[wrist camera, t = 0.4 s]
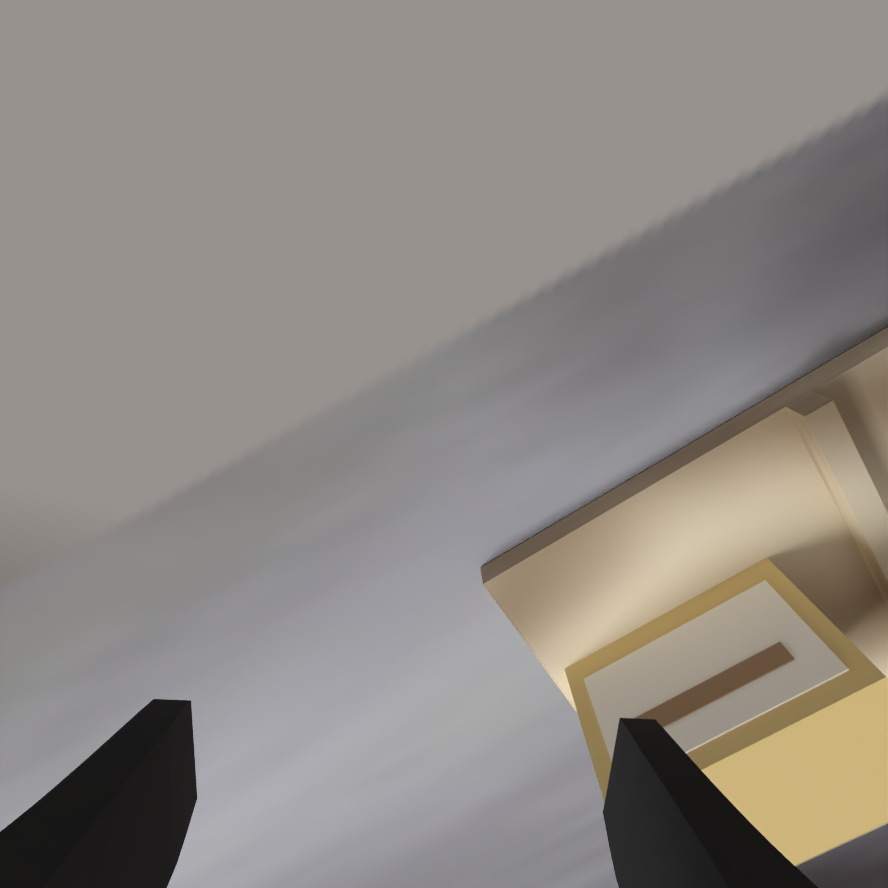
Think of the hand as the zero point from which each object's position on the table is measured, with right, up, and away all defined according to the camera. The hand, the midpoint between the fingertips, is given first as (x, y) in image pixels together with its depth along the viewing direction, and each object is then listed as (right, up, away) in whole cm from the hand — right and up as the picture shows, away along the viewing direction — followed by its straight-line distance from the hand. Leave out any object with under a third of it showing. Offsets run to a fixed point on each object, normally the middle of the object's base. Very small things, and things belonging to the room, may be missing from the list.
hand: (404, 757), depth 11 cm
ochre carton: (+8, -1, +10) cm, 13 cm away
